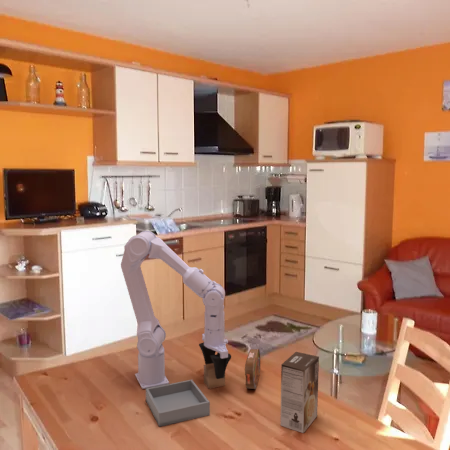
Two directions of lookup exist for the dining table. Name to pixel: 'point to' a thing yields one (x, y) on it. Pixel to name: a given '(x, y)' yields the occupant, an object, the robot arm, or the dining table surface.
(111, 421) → the dining table surface
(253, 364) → the tin
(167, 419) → the bin
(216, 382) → the block
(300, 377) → the coffee box
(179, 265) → the robot arm
